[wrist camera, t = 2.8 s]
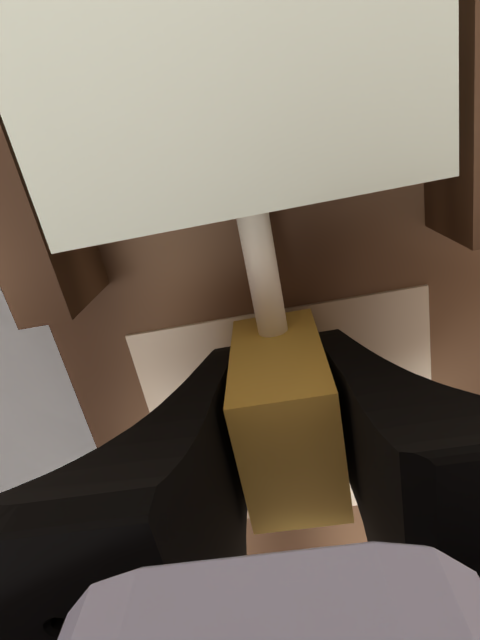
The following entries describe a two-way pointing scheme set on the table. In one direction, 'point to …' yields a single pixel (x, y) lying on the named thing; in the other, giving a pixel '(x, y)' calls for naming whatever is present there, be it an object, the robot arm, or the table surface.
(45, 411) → the table surface
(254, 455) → the block
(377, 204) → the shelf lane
